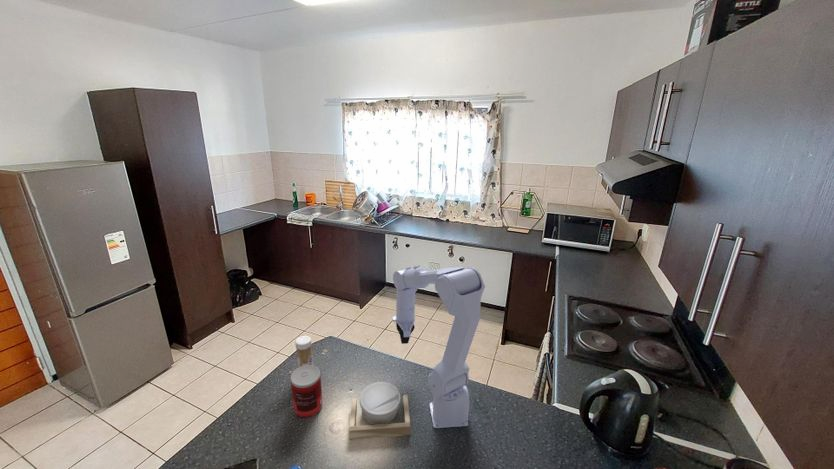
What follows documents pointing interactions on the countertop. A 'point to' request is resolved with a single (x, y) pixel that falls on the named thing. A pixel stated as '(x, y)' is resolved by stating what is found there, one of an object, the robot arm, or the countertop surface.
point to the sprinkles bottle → (304, 351)
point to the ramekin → (380, 402)
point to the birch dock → (379, 425)
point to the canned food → (306, 390)
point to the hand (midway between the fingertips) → (404, 342)
